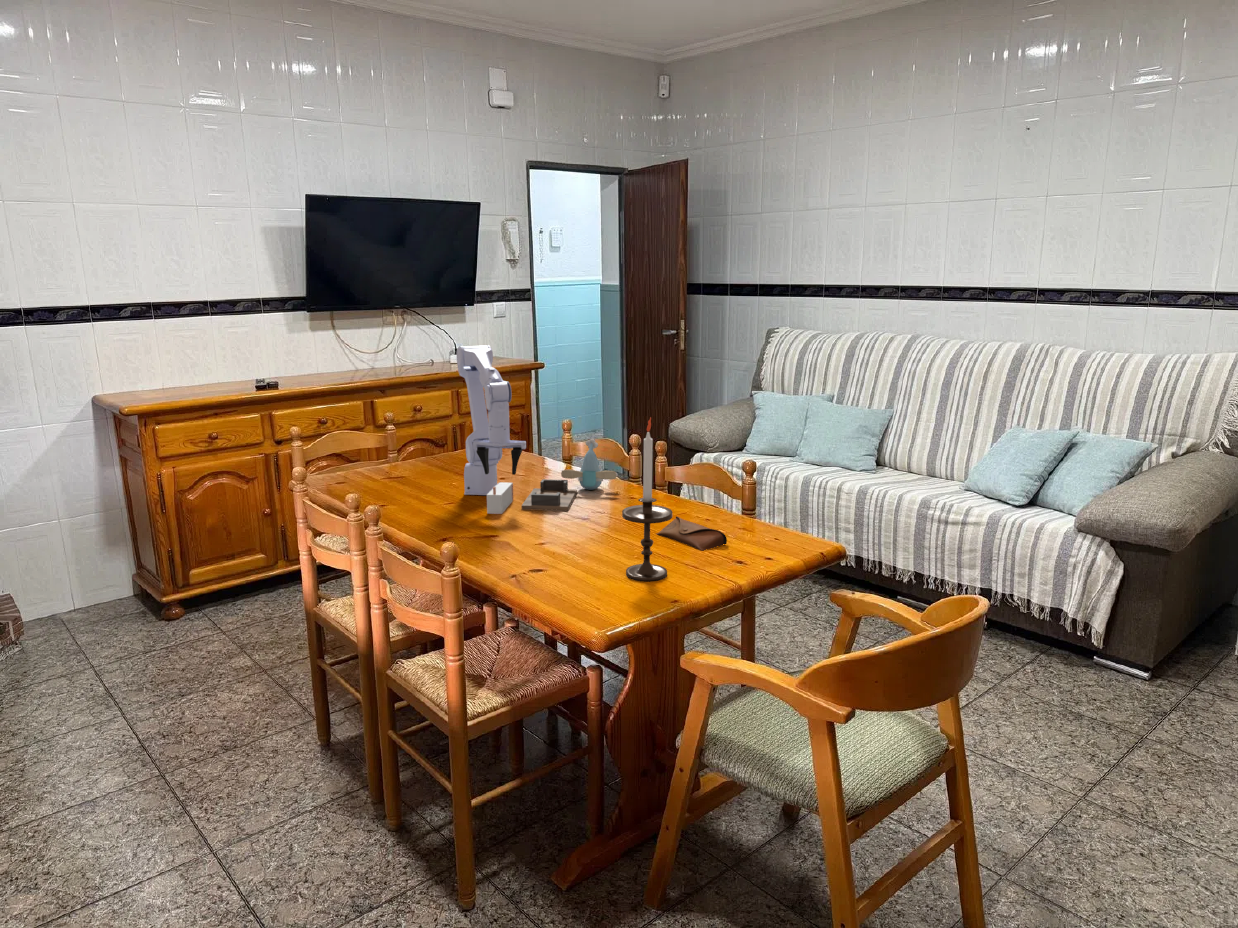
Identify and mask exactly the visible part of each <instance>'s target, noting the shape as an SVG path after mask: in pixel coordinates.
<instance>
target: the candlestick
mask: <svg viewBox="0 0 1238 928" xmlns="http://www.w3.org/2000/svg"><path fill="white" fill-rule="evenodd" d="M647 424H648V425H647V427H646V431H647V432H646V435H645V438H643V472H642V473H643V474H642V475H643V479H642V482H643V483H642V484H643V486H642V487H643V488H642V489H643V490H642V497H641V498H638V502H640V503H642V504H639V505H638V504H637V505H631V506H628V507H625V508H623V509H622V511H621V516H622V519H624V520H626V521H627V522H631V523H637V524H643V538H642V539H641V540H640V545H641V546H642V549H643V550H642V551H640V552H641V553H640V554H641V555H642V556H643V562H642V563H638V564H633V565H631V566H629V567H627V568H626V570H625V577H627V578H628V579H630V580H632V581H635V582H640V583H641V582H642V583H653V582H660V581H662V580H664V579H666V578H667V577H668V570H667V568H665V567H664V566H662V565H657V564H652V563H651V560H650V559H651V558H650V557H651V555H653V551H652V550H651V547H652V546H654V545H653V544H654V540H653V539H651V524H659V523H660V524H661V523H665V522H667V521H670V520H671V519H673V510H672V509H671V508H668V507H666V506H661V505H655V504H653V503H654V502H657V500H658V499H656V498H653V445H654V444H653V442H654V441H653V438H652V437H651V434H650V431H651V427H652V417H649V420H648V421H647Z"/></svg>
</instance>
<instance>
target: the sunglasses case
mask: <svg viewBox="0 0 1238 928" xmlns="http://www.w3.org/2000/svg"><path fill="white" fill-rule="evenodd" d="M655 535H657V536H660V537H664V538H667V539H670V540H673V541H675V540H676V541H675V542H679V543H681V544H684V545H686V544H687V545H686V546H689V547H692V548H694V549H696V550H699V551H701V552H702V551H704V550H705V551H707V550H711V548H712V549H714V547H715V548H718V547H717V546H719V547H721V546H720V545H723V544H726V545H727V543H728V539H727V535H726V534H725V533H724V532H722V531H721V530H718V529H715V528H714V529H713V528H709V527H707V526H705V525H702V524H698V523H695V522H692V521H689V520H686V519H683V518H681V517H679V516H675V518H674V519H673V520H672V521H671V522H669V523H668V524H667V525H666V526H665V527H663V528H662V529H661V530H660V531H659V532H658V533H655ZM723 546H724V545H723ZM706 549H707V550H706Z"/></svg>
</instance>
